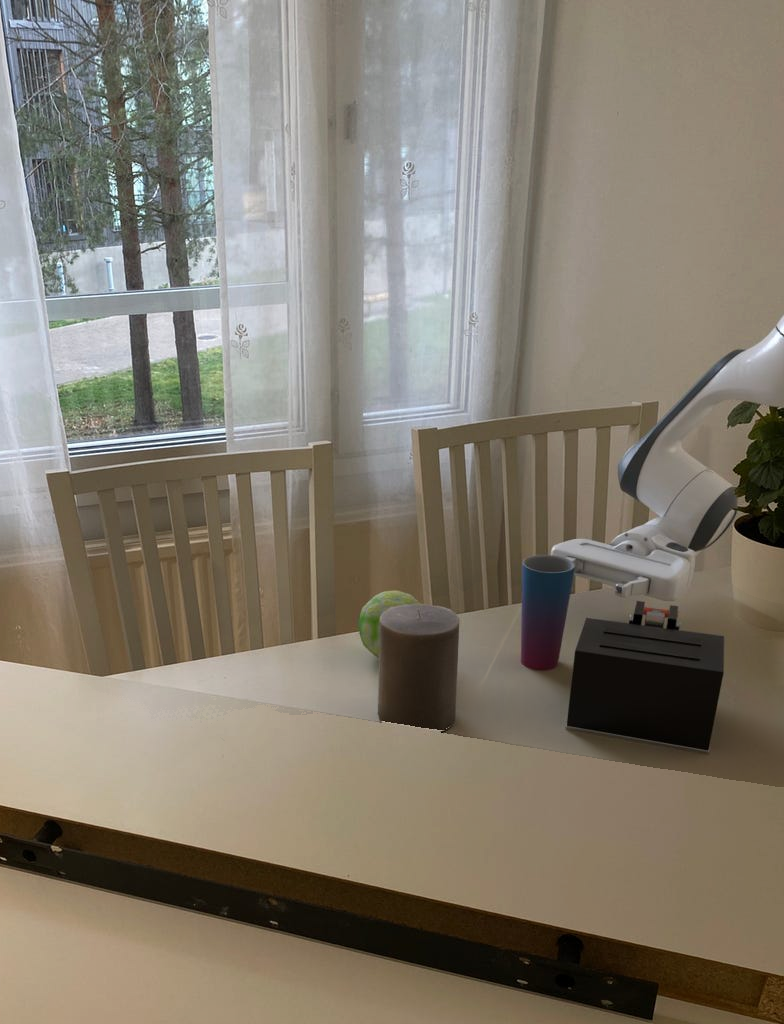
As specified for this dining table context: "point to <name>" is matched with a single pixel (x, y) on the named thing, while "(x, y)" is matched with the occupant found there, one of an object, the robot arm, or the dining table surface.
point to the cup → (544, 609)
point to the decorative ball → (372, 613)
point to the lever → (655, 617)
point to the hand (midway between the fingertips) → (589, 582)
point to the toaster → (646, 684)
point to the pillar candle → (418, 666)
